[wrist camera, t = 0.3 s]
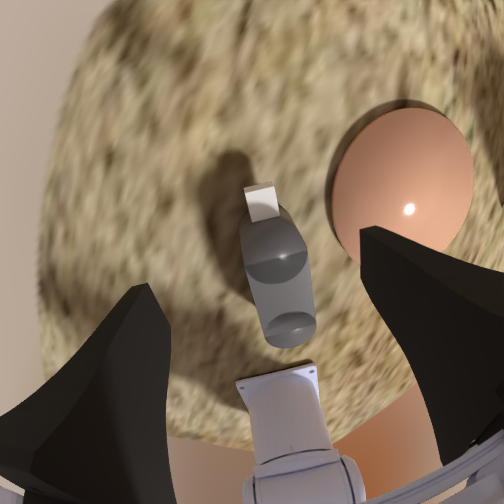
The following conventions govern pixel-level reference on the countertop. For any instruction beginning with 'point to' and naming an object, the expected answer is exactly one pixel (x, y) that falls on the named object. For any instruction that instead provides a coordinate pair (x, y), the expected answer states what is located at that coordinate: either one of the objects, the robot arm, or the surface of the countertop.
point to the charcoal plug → (277, 269)
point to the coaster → (404, 180)
